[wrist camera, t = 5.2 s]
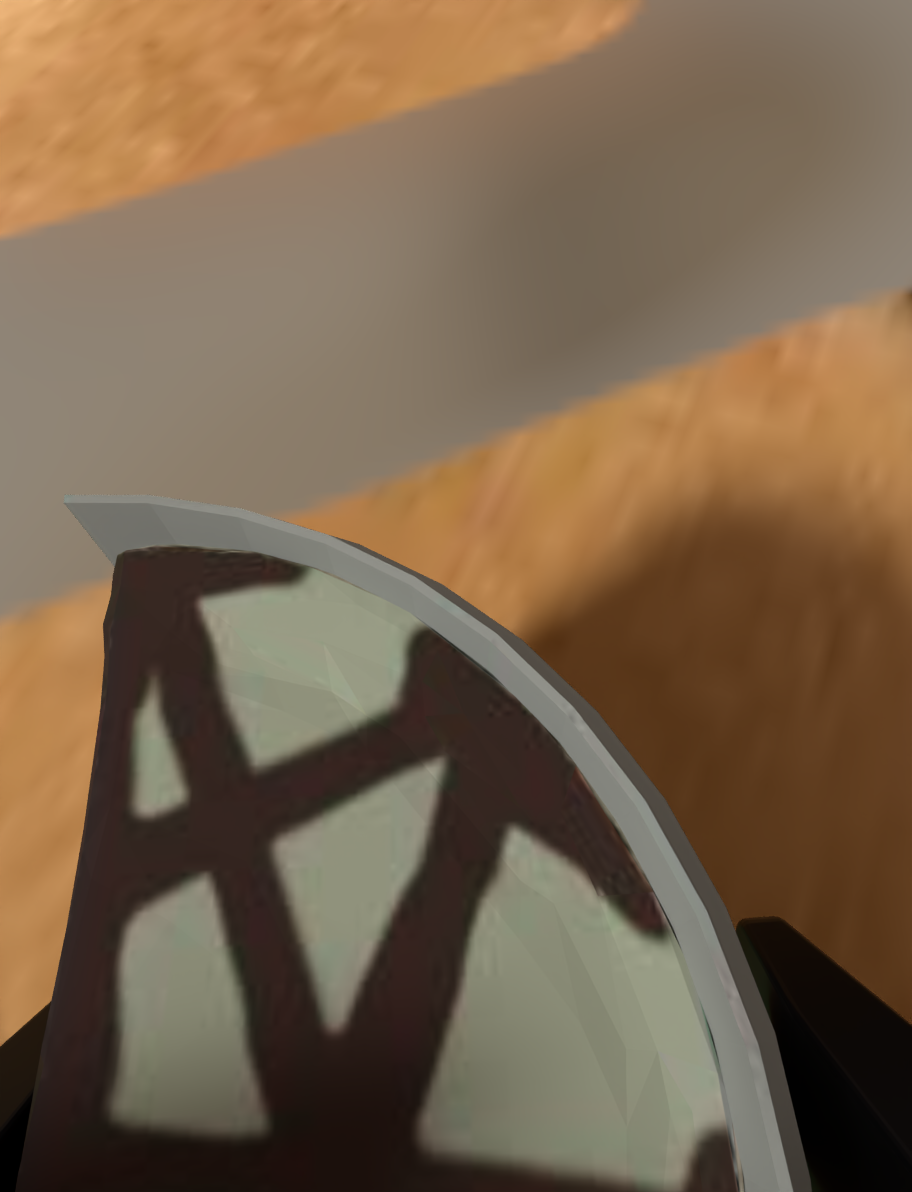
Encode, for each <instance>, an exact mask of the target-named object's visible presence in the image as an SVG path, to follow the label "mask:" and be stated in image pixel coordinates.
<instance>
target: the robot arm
mask: <svg viewBox="0 0 912 1192" xmlns="http://www.w3.org/2000/svg"><path fill="white" fill-rule="evenodd" d="M736 934H737V937H738V939H739V942H740V944H741V947H742V949H743V952H744V955H745V957H746V960H747V962H748V965H749V967H750V970H751V972H752V975H753V978H754V980H755V983H756V985H757V988H758V990H759V993H760V996H761V998H762V1001H763V1003H764V1006H765V1008H766V1011H767V1013H768V1016H769V1019H770V1021H771V1024H772V1026H773V1029H774V1031H775V1034H776V1038H777V1043H778V1047H779V1051H780V1055H781V1059H782V1063H783V1067H784V1072H785V1076H786V1080H787V1084H788V1088H789V1092H790V1097H791V1101H792V1105H793V1109H794V1113H795V1117H796V1121H797V1126H798V1130H799V1134H800V1138H801V1142H802V1146H803V1151H804V1155H805V1159H806V1163H807V1167H808V1171H809V1175H810V1180H811V1189H812V1192H912V1025H911V1024H910V1023H909V1022H908V1021H906V1020H905V1019H904V1018H903V1017H902V1016H900V1015H899V1014H898V1013H897V1012H896V1011H894V1010H893V1009H892V1008H891V1007H889V1006H888V1005H887V1004H886V1003H885V1002H883V1001H882V1000H881V999H880V998H878V997H877V996H876V995H875V994H874V993H872V992H871V991H870V990H869V989H868V988H866V987H865V986H864V985H863V984H861V983H860V982H859V981H858V980H857V979H855V978H854V977H853V976H852V975H851V974H849V973H848V972H847V971H846V970H844V969H843V968H842V967H841V966H840V965H838V964H837V963H836V962H835V961H833V960H832V959H831V958H830V957H829V956H827V955H826V954H825V953H824V952H823V951H821V950H820V949H819V948H818V947H816V946H815V945H814V944H813V943H812V942H810V941H809V940H808V939H807V938H805V937H804V936H803V935H802V934H801V933H799V932H798V931H797V930H796V929H795V928H793V927H792V926H791V925H790V924H788V923H787V922H786V921H785V920H783V919H781V918H779V917H775V916H769V917H757V918H745V919H742V920H741V921H739V922H738V925H737V928H736ZM50 1006H51V1002H50V1003H49V1004H47V1005H46V1006H45V1007H44V1008H43V1009H42V1010H41V1011H40V1012H38V1013H37V1014H36V1015H35V1016H34V1017H33V1018H32V1019H31V1020H30V1021H28V1022H27V1023H26V1024H25V1025H24V1026H23V1027H22V1028H21V1029H19V1030H18V1031H17V1032H16V1033H15V1034H14V1035H13V1036H12V1037H10V1038H9V1039H8V1040H7V1041H6V1042H5V1043H4V1044H3V1045H1V1046H0V1192H15V1190H16V1184H17V1177H18V1172H19V1168H20V1164H21V1159H22V1154H23V1148H24V1143H25V1137H26V1132H27V1126H28V1120H29V1115H30V1109H31V1104H32V1098H33V1093H34V1087H35V1082H36V1076H37V1070H38V1065H39V1059H40V1054H41V1049H42V1044H43V1039H44V1035H45V1030H46V1025H47V1020H48V1015H49V1010H50Z"/></svg>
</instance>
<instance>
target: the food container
mask: <svg viewBox="0 0 912 1192" xmlns="http://www.w3.org/2000/svg"><path fill="white" fill-rule="evenodd" d="M64 504H65V505H66V506H67V507H68V509H69V510H70V511H71V512H72V514H73V515H74V516H75V518H76V519H77V520H78V521H79V523H80V524H81V525H82V526H83V528H84V529H85V530H86V531H87V533H88V534H89V535H90V536H91V538H92V539H93V540H94V541H95V543H96V544H97V545H98V546H99V547H100V549H101V550H102V552H103V553H104V554H105V555H106V557H107V558H108V559H109V560H110V562H111V563H112V564H113V565H114V567H115V568H114V573H113V581H112V591H111V597H110V601H109V605H108V608H107V612H106V616H105V619H104V623H103V633H104V653H105V659H104V671H103V684H102V696H101V709H100V716H99V723H98V730H97V737H96V744H95V752H94V759H93V766H92V773H91V780H90V787H89V794H88V802H87V809H86V816H85V823H84V830H83V836H82V842H81V847H80V853H79V859H78V865H77V871H76V876H75V882H74V888H73V894H72V899H71V905H70V911H69V917H68V923H67V928H66V933H65V938H64V943H63V948H62V952H61V957H60V962H59V967H58V972H57V977H56V981H55V986H54V991H53V996H52V1001H51V1006H50V1010H49V1015H48V1020H47V1025H46V1030H45V1035H44V1039H43V1044H42V1049H41V1054H40V1059H39V1065H38V1070H37V1076H36V1082H35V1087H34V1093H33V1098H32V1104H31V1109H30V1115H29V1120H28V1126H27V1132H26V1137H25V1143H24V1148H23V1154H22V1159H21V1164H20V1168H19V1172H18V1177H17V1184H16V1190H15V1192H812V1189H811V1180H810V1175H809V1171H808V1167H807V1163H806V1159H805V1155H804V1151H803V1146H802V1142H801V1138H800V1134H799V1130H798V1126H797V1121H796V1117H795V1113H794V1109H793V1105H792V1101H791V1097H790V1092H789V1088H788V1084H787V1080H786V1076H785V1072H784V1067H783V1063H782V1059H781V1055H780V1051H779V1047H778V1043H777V1038H776V1034H775V1031H774V1029H773V1026H772V1024H771V1021H770V1019H769V1016H768V1013H767V1011H766V1008H765V1006H764V1003H763V1001H762V998H761V996H760V993H759V990H758V988H757V985H756V983H755V980H754V978H753V975H752V972H751V970H750V967H749V965H748V962H747V960H746V957H745V955H744V952H743V949H742V947H741V944H740V942H739V939H738V937H737V934H736V931H735V929H734V926H733V924H732V921H731V919H730V916H729V914H728V911H727V908H726V906H725V904H724V903H723V901H722V899H721V897H720V896H719V894H718V892H717V890H716V888H715V887H714V885H713V883H712V881H711V880H710V878H709V876H708V874H707V872H706V871H705V869H704V867H703V865H702V864H701V862H700V860H699V858H698V856H697V855H696V853H695V851H694V849H693V848H692V846H691V844H690V842H689V840H688V839H687V837H686V835H685V833H684V832H683V830H682V828H681V826H680V824H679V823H678V821H677V819H676V817H675V816H674V814H673V812H672V810H671V808H670V807H669V805H668V803H667V801H666V800H665V798H664V797H663V796H662V795H661V793H660V792H659V791H658V789H657V788H656V787H655V785H654V784H653V783H652V782H651V780H650V779H649V778H648V776H647V775H646V774H645V773H644V771H643V770H642V769H641V767H640V766H639V765H638V764H637V762H636V761H635V760H634V758H633V757H632V756H631V754H630V753H629V752H628V751H627V749H626V748H625V747H624V745H623V744H622V743H621V742H620V740H619V739H618V738H617V736H616V735H615V734H614V733H613V731H612V730H611V729H610V727H609V726H608V725H607V723H606V722H605V721H604V720H603V718H602V717H601V716H600V714H599V713H598V712H597V711H596V710H595V709H594V708H593V707H592V706H591V705H590V704H589V703H588V702H587V701H586V700H585V699H584V698H583V697H582V696H580V695H579V694H578V693H577V692H576V691H575V690H574V689H573V688H572V687H571V686H570V685H569V684H568V683H567V682H566V681H565V680H564V679H563V678H562V677H561V676H559V675H558V674H557V673H556V672H555V671H554V670H553V669H552V668H551V667H550V666H549V665H548V664H547V663H546V662H545V661H544V660H543V659H542V658H541V657H540V656H539V655H537V654H536V653H535V652H534V651H533V650H532V649H531V648H530V647H529V646H528V645H527V644H526V643H525V642H524V641H523V640H522V639H520V638H519V637H517V636H516V635H514V634H513V633H511V632H510V631H509V630H507V629H506V628H504V627H503V626H501V625H500V624H498V623H497V622H496V621H494V620H493V619H491V618H490V617H488V616H487V615H485V614H484V613H483V612H481V611H480V610H478V609H477V608H475V607H474V606H473V605H471V604H470V603H468V602H467V601H465V600H464V599H462V598H461V597H460V596H458V595H457V594H455V593H454V592H452V591H451V590H449V589H448V588H447V587H445V586H444V585H442V584H440V583H438V582H436V581H434V580H432V579H430V578H428V577H426V576H424V575H422V574H419V573H417V572H415V571H413V570H411V569H409V568H407V567H405V566H403V565H401V564H399V563H397V562H395V561H393V560H391V559H389V558H386V557H384V556H382V555H380V554H378V553H376V552H374V551H372V550H370V549H368V548H366V547H364V546H362V545H360V544H357V543H353V542H350V541H347V540H344V539H340V538H337V537H334V536H330V535H327V534H324V533H321V532H317V531H314V530H311V529H308V528H304V527H301V526H298V525H294V524H291V523H288V522H285V521H281V520H278V519H275V518H271V517H267V516H264V515H261V514H257V513H254V512H251V511H248V510H244V509H241V508H235V507H228V506H220V505H214V504H208V503H201V502H194V501H187V500H180V499H173V498H166V497H159V496H153V495H65V497H64Z"/></svg>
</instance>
